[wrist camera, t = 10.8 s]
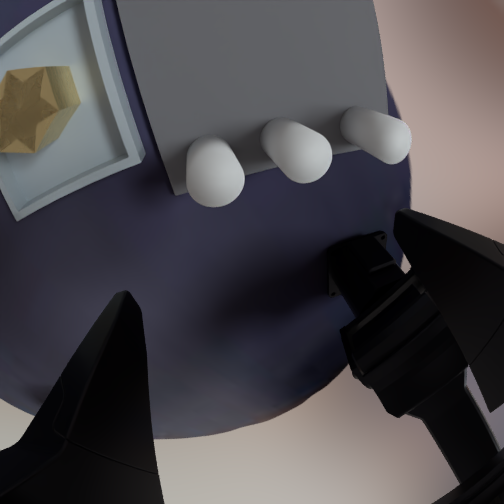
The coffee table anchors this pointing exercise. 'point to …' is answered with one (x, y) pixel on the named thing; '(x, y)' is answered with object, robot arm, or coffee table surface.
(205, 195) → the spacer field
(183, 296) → the coffee table surface
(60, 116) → the tan faceted polyhedron
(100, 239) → the coffee table surface
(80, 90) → the nut tray
